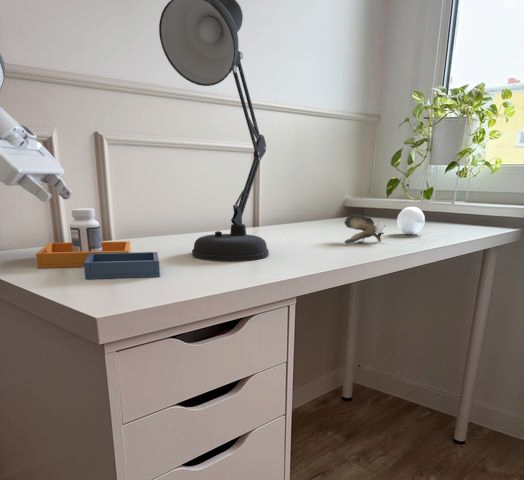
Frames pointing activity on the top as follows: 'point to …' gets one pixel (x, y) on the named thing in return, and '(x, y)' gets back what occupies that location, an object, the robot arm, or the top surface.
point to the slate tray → (121, 265)
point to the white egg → (410, 220)
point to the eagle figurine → (364, 227)
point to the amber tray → (74, 254)
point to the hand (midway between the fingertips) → (59, 198)
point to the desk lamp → (207, 74)
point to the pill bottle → (85, 231)
